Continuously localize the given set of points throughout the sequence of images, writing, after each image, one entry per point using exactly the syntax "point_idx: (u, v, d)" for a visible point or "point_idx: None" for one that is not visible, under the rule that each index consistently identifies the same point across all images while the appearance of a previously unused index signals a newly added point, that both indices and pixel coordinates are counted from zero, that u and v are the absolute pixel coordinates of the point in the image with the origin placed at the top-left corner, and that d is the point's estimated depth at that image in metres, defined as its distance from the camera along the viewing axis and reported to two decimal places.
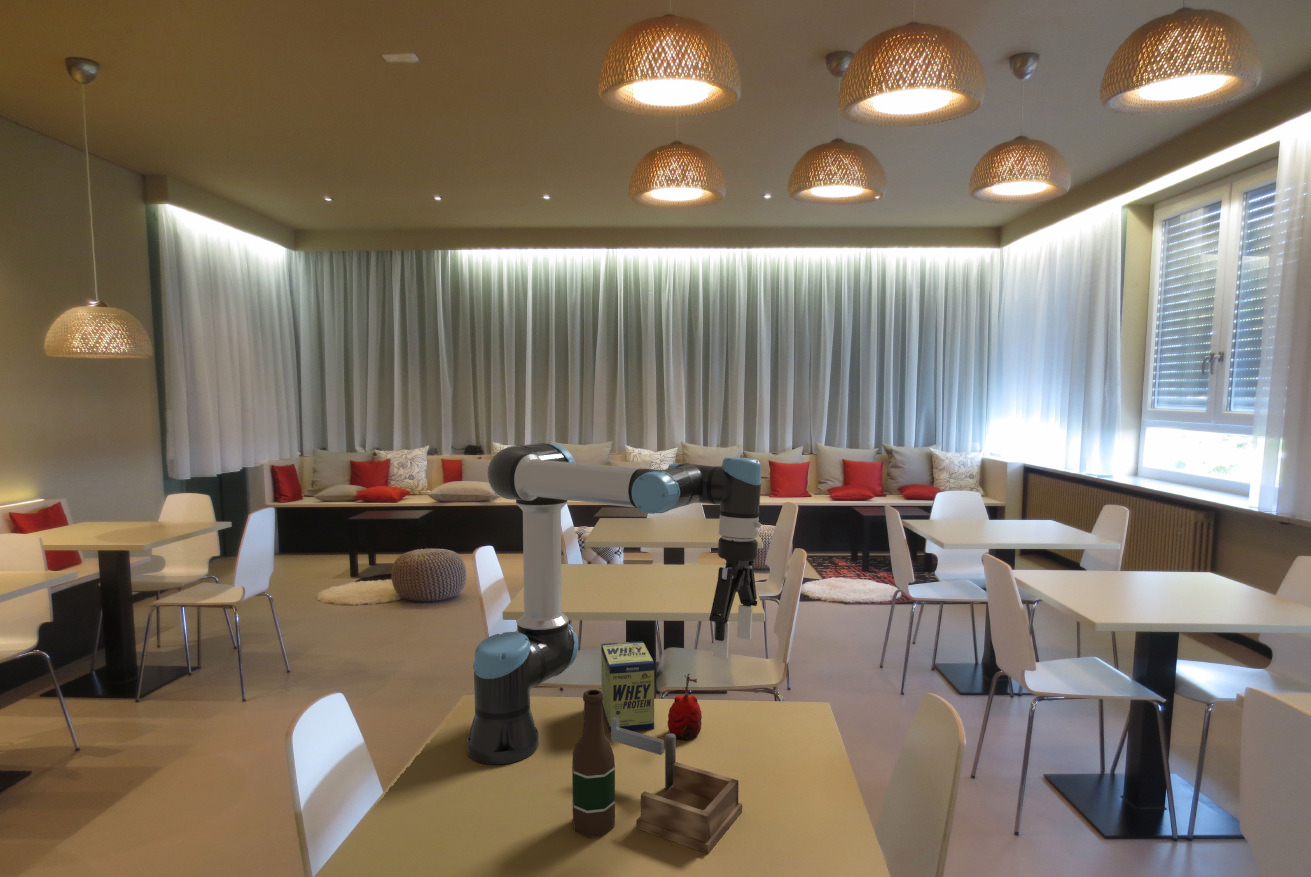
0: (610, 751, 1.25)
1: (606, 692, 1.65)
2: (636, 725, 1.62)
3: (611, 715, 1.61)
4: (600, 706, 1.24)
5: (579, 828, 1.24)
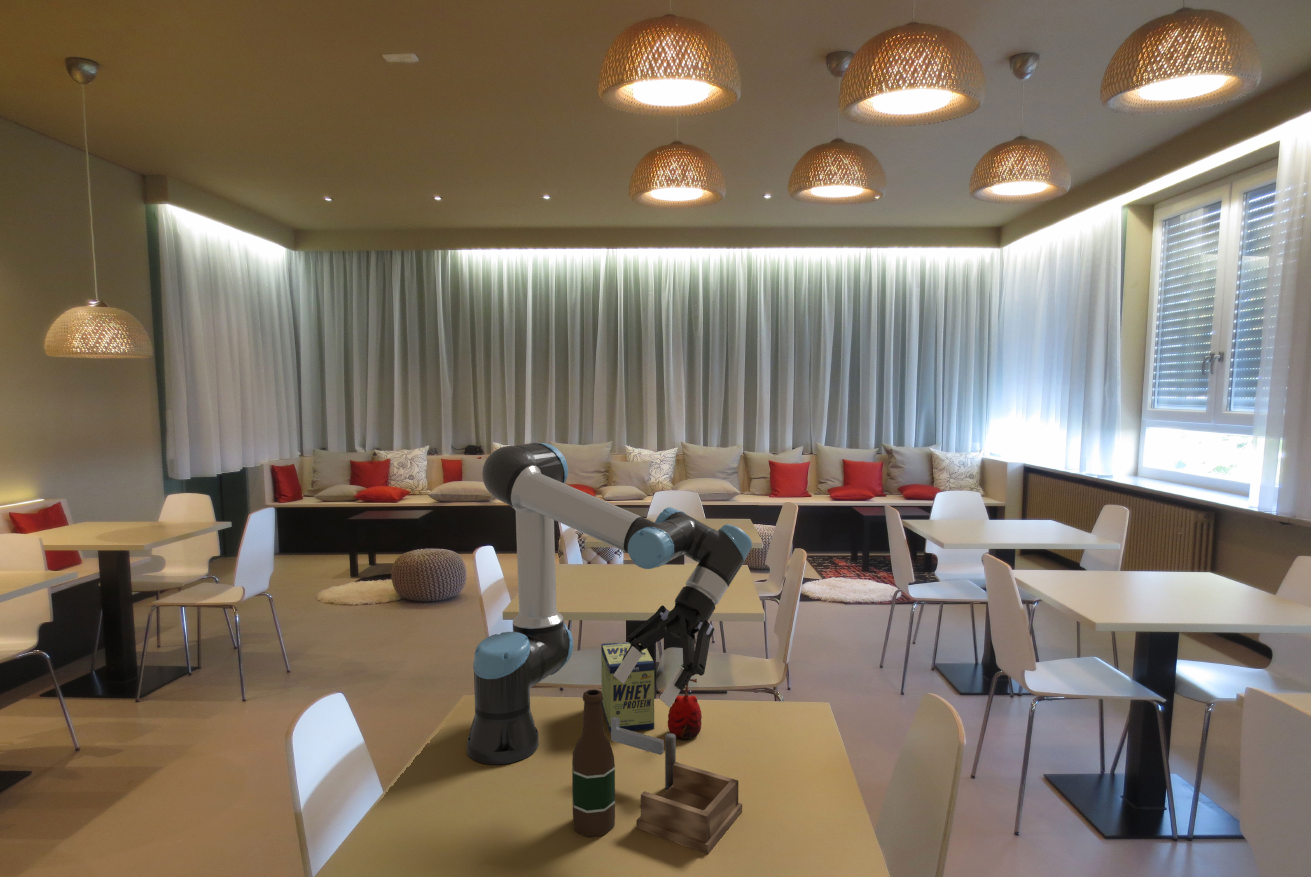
0: (610, 751, 1.25)
1: (606, 692, 1.65)
2: (636, 725, 1.62)
3: (611, 715, 1.61)
4: (599, 706, 1.24)
5: (579, 828, 1.24)
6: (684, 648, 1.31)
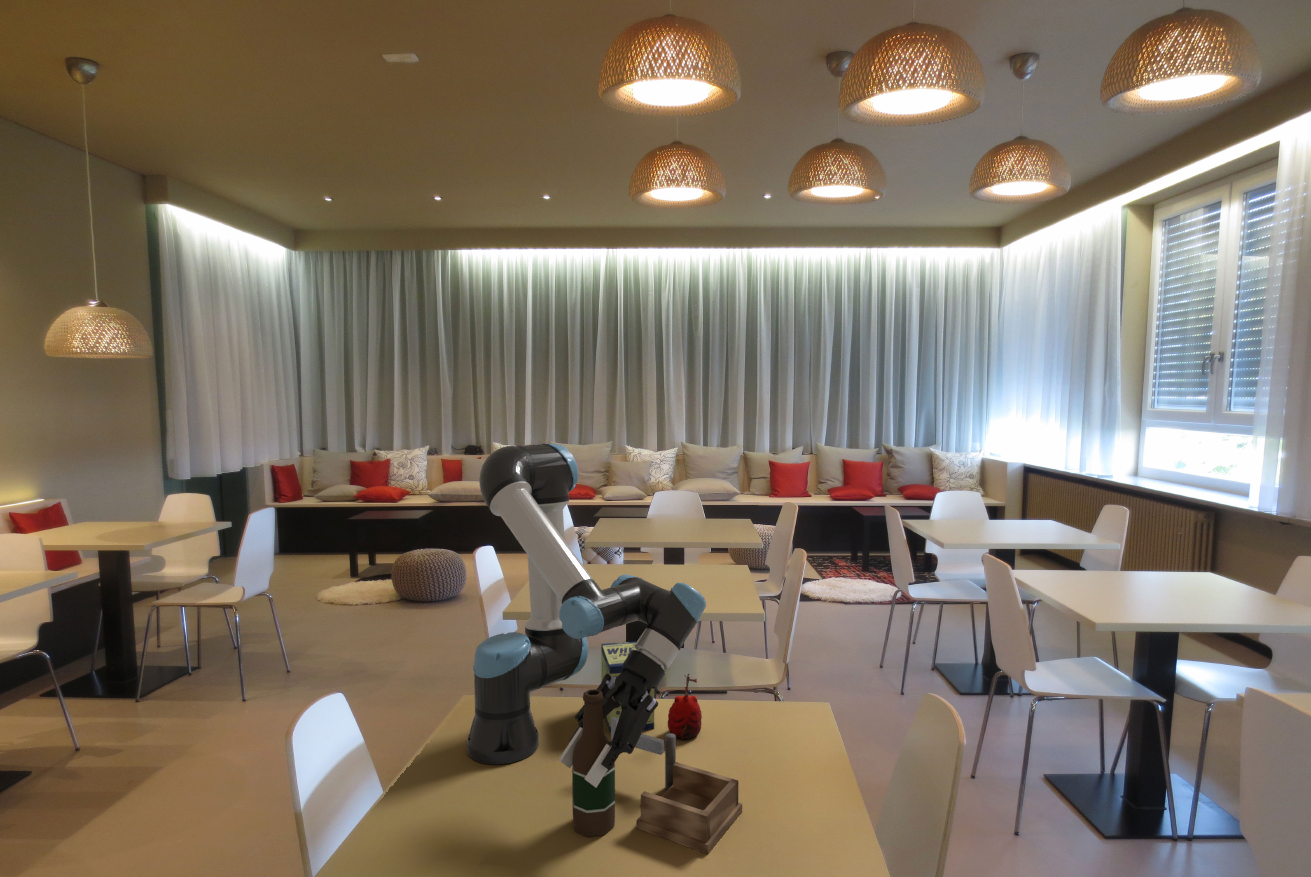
0: None
1: None
2: None
3: (611, 715, 1.61)
4: (600, 706, 1.24)
5: (579, 828, 1.24)
6: (619, 722, 1.25)
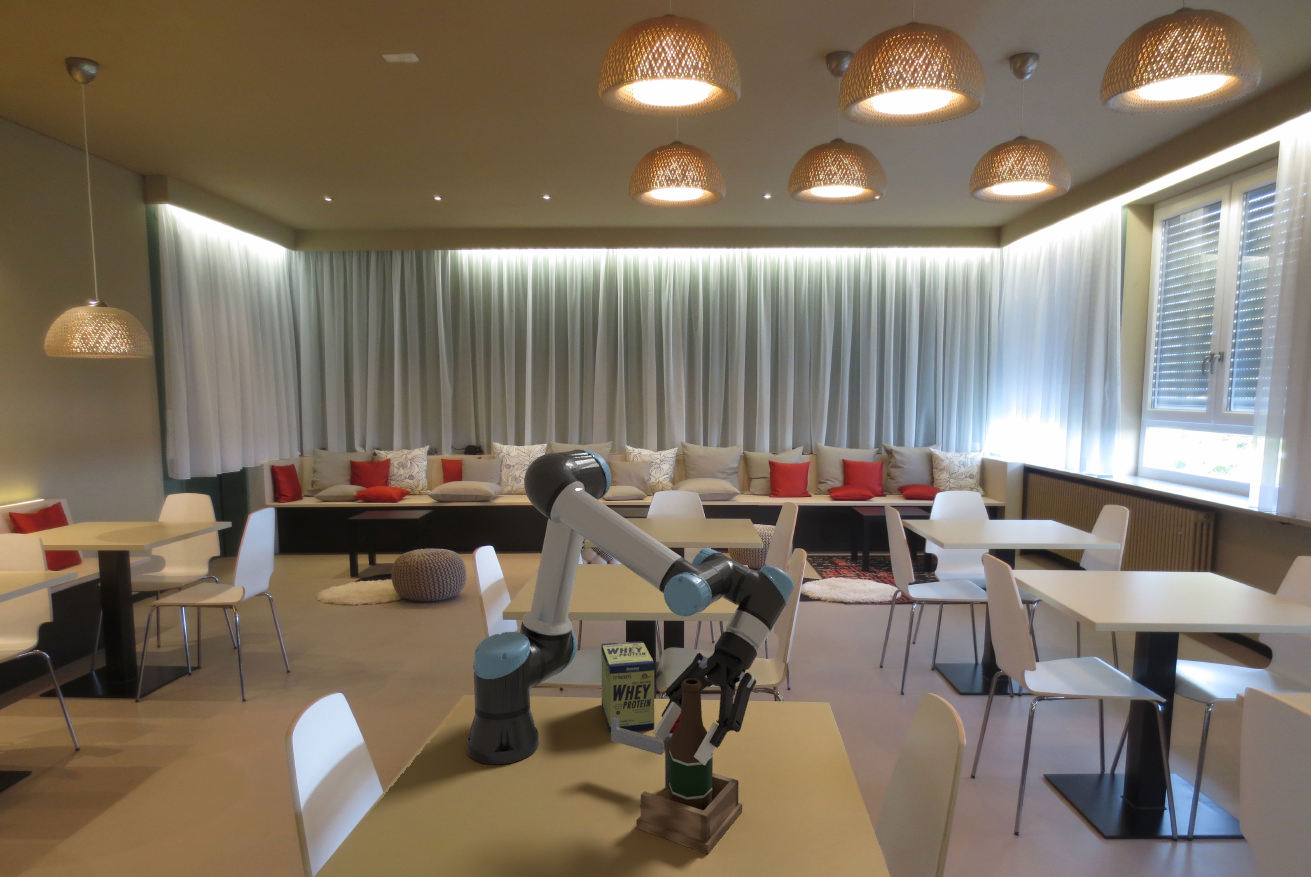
0: None
1: (606, 692, 1.65)
2: (636, 725, 1.62)
3: (611, 715, 1.61)
4: (699, 695, 1.25)
5: None
6: (722, 701, 1.26)
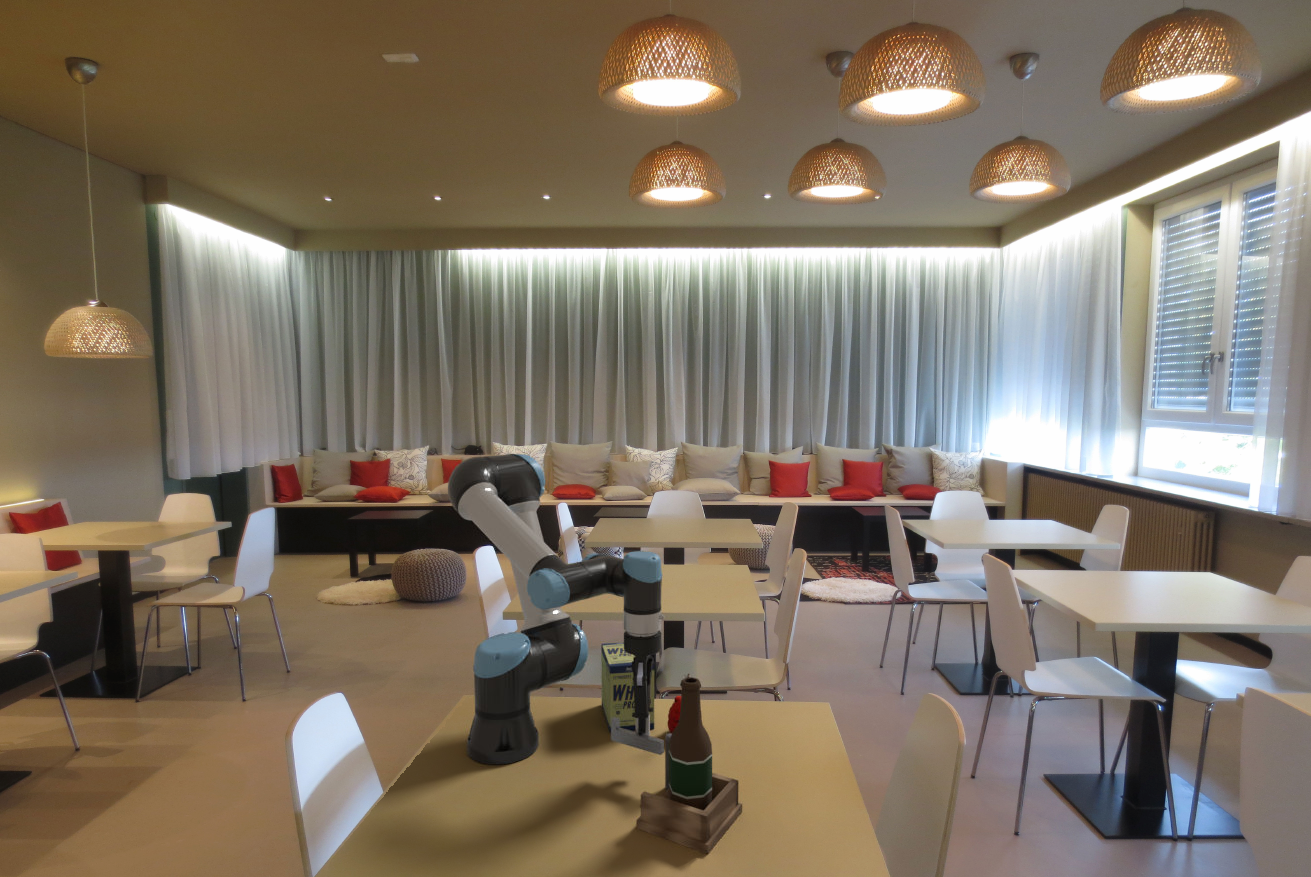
0: (708, 738, 1.26)
1: (606, 692, 1.65)
2: None
3: (611, 715, 1.61)
4: (698, 694, 1.26)
5: None
6: None
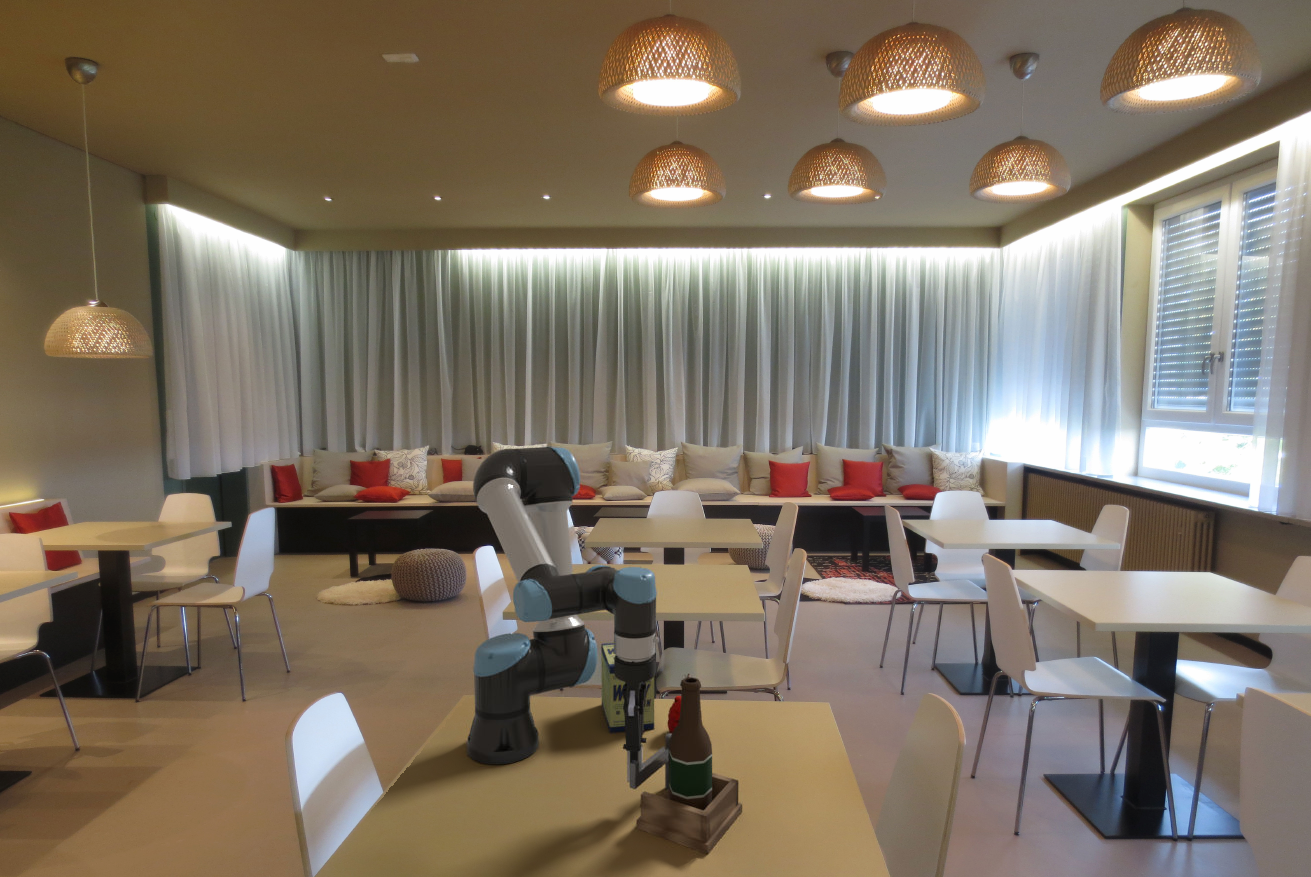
0: (708, 738, 1.26)
1: (606, 692, 1.65)
2: None
3: (611, 715, 1.61)
4: (698, 694, 1.26)
5: None
6: None
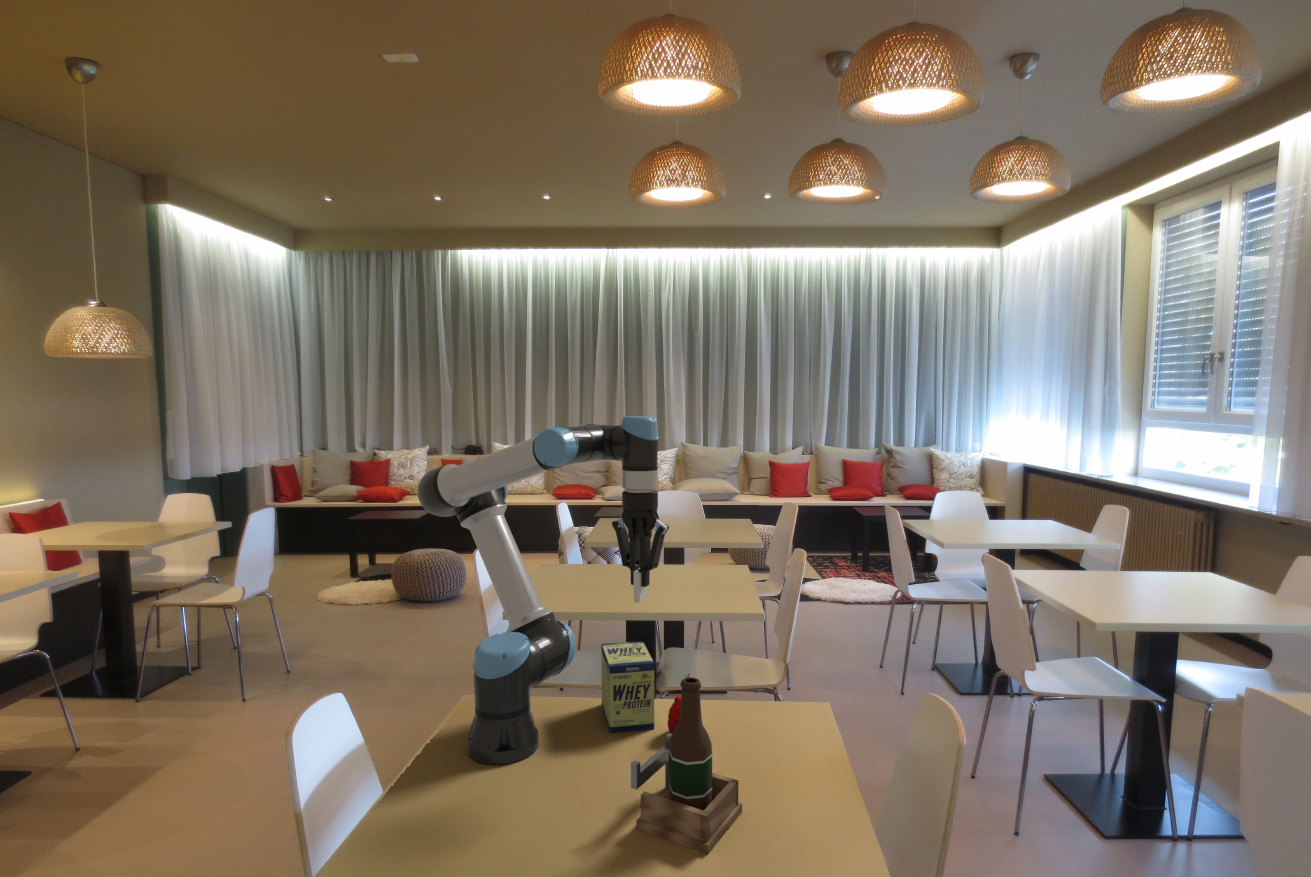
0: (708, 738, 1.26)
1: (606, 692, 1.65)
2: (636, 725, 1.62)
3: (611, 715, 1.61)
4: (698, 694, 1.26)
5: None
6: (641, 551, 1.49)
